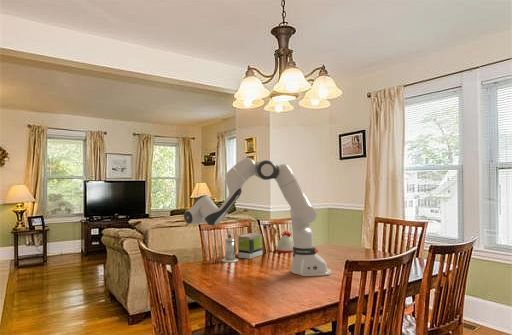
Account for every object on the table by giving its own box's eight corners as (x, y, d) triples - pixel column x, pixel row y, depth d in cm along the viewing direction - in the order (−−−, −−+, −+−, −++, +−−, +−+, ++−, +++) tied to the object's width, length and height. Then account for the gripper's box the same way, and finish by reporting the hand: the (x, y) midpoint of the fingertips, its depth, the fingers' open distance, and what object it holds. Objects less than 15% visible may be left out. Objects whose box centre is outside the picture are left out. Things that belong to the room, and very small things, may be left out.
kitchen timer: (290, 253, 244) (289, 232, 245) (273, 251, 251) (273, 231, 252) (298, 250, 256) (298, 230, 256) (282, 248, 263) (282, 228, 264)
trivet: (239, 258, 228) (239, 257, 228) (237, 262, 217) (237, 261, 218) (223, 258, 229) (223, 257, 229) (220, 262, 218) (220, 261, 218)
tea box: (251, 253, 245) (251, 232, 246) (262, 255, 239) (262, 233, 240) (237, 257, 233) (237, 235, 234) (249, 259, 227) (249, 236, 228)
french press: (231, 260, 219) (231, 236, 220) (223, 259, 222) (223, 235, 223) (238, 258, 226) (238, 234, 227) (230, 257, 229) (230, 233, 230)
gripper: (219, 210, 197) (233, 208, 209) (192, 209, 207) (206, 207, 219) (219, 221, 197) (233, 218, 209) (192, 219, 207) (206, 217, 219)
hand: (219, 213), depth 214 cm, fingers open, 8 cm apart
